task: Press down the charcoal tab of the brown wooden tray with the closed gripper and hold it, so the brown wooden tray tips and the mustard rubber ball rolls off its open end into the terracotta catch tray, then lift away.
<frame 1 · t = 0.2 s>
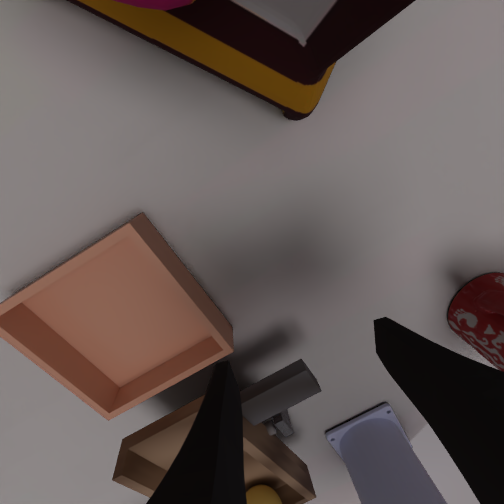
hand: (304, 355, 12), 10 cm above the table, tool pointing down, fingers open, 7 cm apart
mug: (471, 294, 25), on the table
seesaw stand: (223, 409, 27), on the table
catch tray: (130, 312, 22), on the table
brown wooden tray: (256, 453, 22), point 5 cm above the table, hinge at -6.0°, touching ball
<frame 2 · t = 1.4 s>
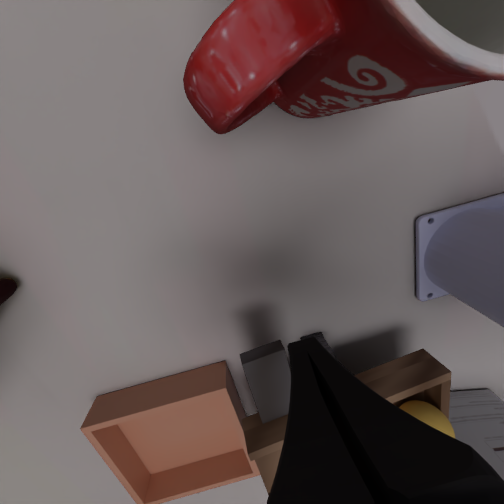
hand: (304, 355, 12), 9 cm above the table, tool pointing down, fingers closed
mug: (287, 70, 17), on the table
catch tray: (183, 422, 26), on the table
ball: (423, 429, 20), point 6 cm above the table, tilted 6°, touching brown wooden tray
supplement box: (439, 417, 31), on the table
brown wooden tray: (345, 408, 21), point 5 cm above the table, hinge at -6.0°, touching ball
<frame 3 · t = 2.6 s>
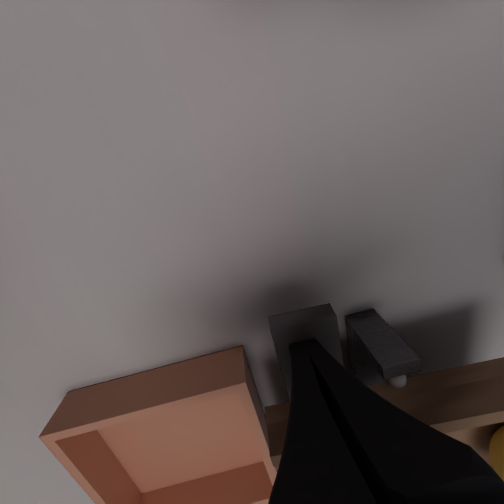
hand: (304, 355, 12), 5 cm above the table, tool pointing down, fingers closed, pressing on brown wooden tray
seesaw stand: (365, 379, 20), on the table
catch tray: (185, 427, 20), on the table
brown wooden tray: (416, 416, 14), point 5 cm above the table, hinge at 3.4°, touching ball, gripper
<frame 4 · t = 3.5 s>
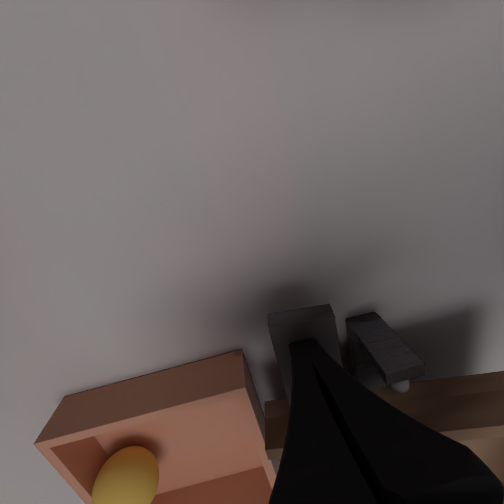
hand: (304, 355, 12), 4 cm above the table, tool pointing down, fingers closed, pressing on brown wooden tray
seesaw stand: (367, 382, 20), on the table
catch tray: (183, 431, 20), on the table
ball: (127, 483, 17), point 2 cm above the table, tilted 32°, touching catch tray
brown wooden tray: (418, 423, 14), point 5 cm above the table, hinge at 8.5°, touching gripper
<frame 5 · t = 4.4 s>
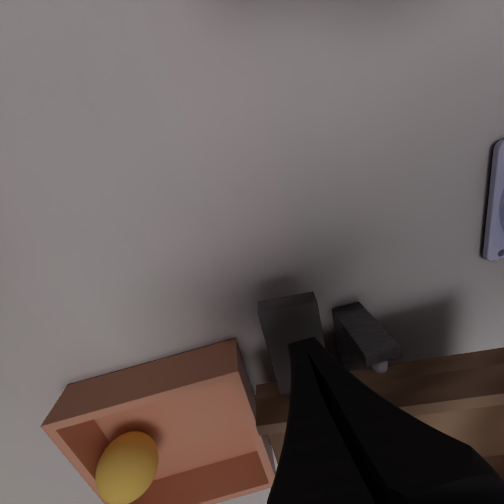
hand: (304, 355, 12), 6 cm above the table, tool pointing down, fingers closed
seesaw stand: (353, 369, 21), on the table
catch tray: (181, 418, 21), on the table
ball: (128, 465, 18), point 2 cm above the table, tilted 33°, touching catch tray
brown wooden tray: (396, 401, 15), point 5 cm above the table, hinge at 8.5°
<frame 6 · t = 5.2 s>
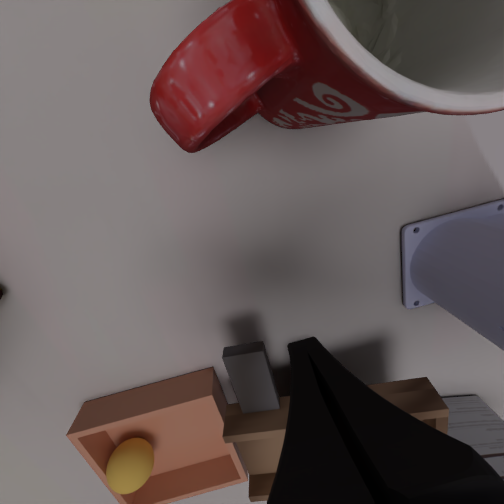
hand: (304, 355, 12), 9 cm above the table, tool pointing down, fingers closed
mug: (272, 81, 17), on the table
catch tray: (172, 427, 26), on the table
ball: (131, 464, 24), point 2 cm above the table, tilted 34°, touching catch tray
supplement box: (428, 423, 31), on the table
brown wooden tray: (327, 418, 21), point 5 cm above the table, hinge at 8.5°
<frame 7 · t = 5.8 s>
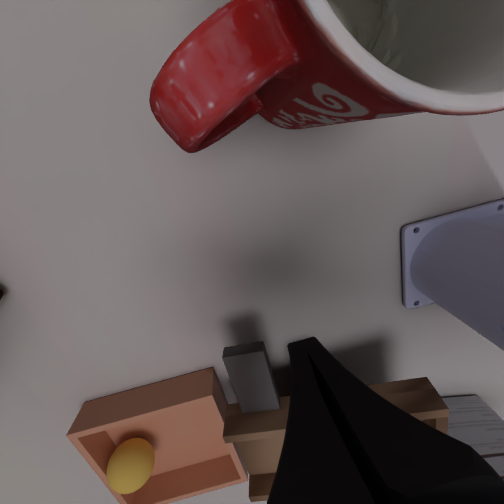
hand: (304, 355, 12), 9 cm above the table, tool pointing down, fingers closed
mug: (272, 81, 17), on the table
catch tray: (172, 427, 26), on the table
ball: (131, 464, 24), point 2 cm above the table, tilted 35°, touching catch tray
supplement box: (428, 423, 31), on the table
brown wooden tray: (327, 418, 21), point 5 cm above the table, hinge at 8.5°
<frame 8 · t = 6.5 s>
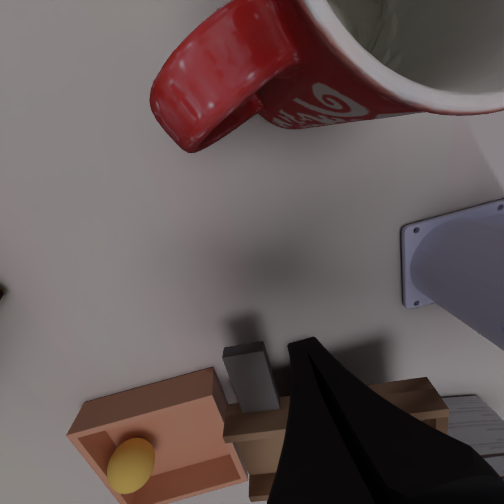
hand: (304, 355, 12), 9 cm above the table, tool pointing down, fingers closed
mug: (272, 81, 17), on the table
catch tray: (172, 427, 26), on the table
ball: (131, 464, 24), point 2 cm above the table, tilted 36°, touching catch tray
supplement box: (428, 423, 31), on the table
brown wooden tray: (327, 418, 21), point 5 cm above the table, hinge at 8.5°
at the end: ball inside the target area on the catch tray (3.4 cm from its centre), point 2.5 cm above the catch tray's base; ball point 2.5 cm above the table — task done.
